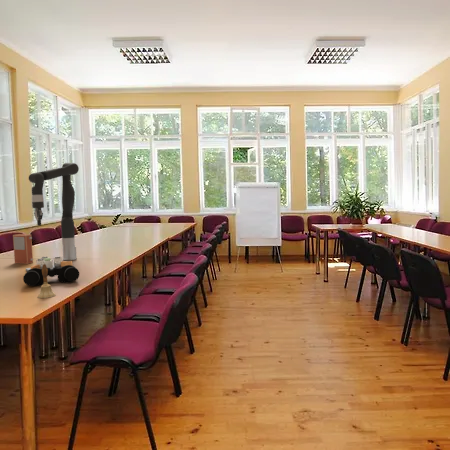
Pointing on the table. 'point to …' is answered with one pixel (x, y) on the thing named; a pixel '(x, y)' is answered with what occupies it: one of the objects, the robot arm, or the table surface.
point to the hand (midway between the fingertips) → (39, 225)
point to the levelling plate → (48, 263)
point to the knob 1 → (39, 264)
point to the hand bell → (45, 285)
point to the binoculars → (51, 275)
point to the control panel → (23, 248)
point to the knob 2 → (61, 262)
